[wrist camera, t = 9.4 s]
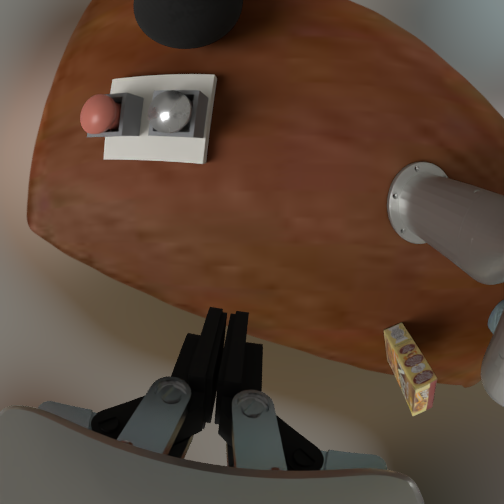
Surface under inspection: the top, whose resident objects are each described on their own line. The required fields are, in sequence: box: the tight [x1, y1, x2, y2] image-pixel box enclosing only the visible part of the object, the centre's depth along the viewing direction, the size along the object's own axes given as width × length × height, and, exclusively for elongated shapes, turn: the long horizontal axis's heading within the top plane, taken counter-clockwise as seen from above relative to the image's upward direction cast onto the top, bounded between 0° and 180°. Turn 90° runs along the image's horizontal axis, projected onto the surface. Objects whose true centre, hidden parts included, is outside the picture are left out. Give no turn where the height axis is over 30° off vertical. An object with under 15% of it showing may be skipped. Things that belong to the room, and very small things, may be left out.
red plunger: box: [80, 94, 122, 134], centre depth 27 cm, size 5×5×6 cm
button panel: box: [87, 74, 217, 164], centre depth 29 cm, size 15×12×7 cm
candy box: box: [384, 323, 437, 416], centre depth 38 cm, size 9×4×15 cm, turn 23°
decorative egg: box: [134, 0, 243, 49], centre depth 20 cm, size 12×12×15 cm
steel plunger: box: [148, 90, 193, 133], centre depth 27 cm, size 5×5×6 cm
